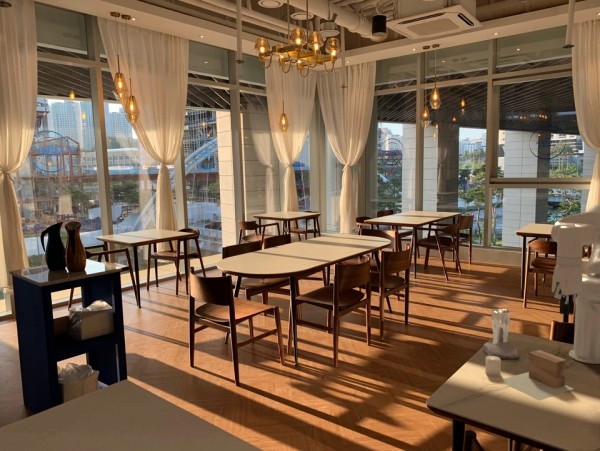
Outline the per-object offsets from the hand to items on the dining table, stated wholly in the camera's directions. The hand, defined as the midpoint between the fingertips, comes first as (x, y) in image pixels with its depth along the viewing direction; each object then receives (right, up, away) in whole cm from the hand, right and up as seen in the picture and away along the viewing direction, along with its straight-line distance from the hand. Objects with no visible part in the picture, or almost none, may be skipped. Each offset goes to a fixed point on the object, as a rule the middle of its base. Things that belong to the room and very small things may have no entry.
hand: (566, 313), depth 164 cm
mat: (-13, -24, -4) cm, 27 cm away
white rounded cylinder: (-23, -23, +6) cm, 33 cm away
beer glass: (-9, -20, +33) cm, 40 cm away
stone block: (-13, -21, +24) cm, 34 cm away
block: (-8, -23, -1) cm, 24 cm away
